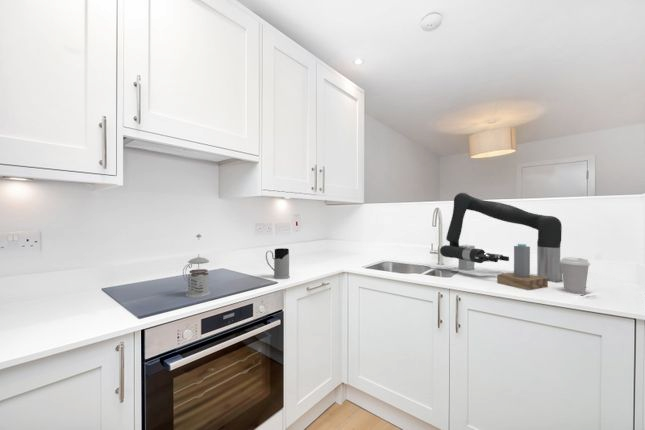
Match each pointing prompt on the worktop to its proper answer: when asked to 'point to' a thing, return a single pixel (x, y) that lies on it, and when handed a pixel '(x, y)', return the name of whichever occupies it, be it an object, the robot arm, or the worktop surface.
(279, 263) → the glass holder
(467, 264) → the skincare box
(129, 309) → the worktop surface
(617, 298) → the worktop surface
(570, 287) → the coffee cup
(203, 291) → the french press
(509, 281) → the brown wooden block
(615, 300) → the worktop surface
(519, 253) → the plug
